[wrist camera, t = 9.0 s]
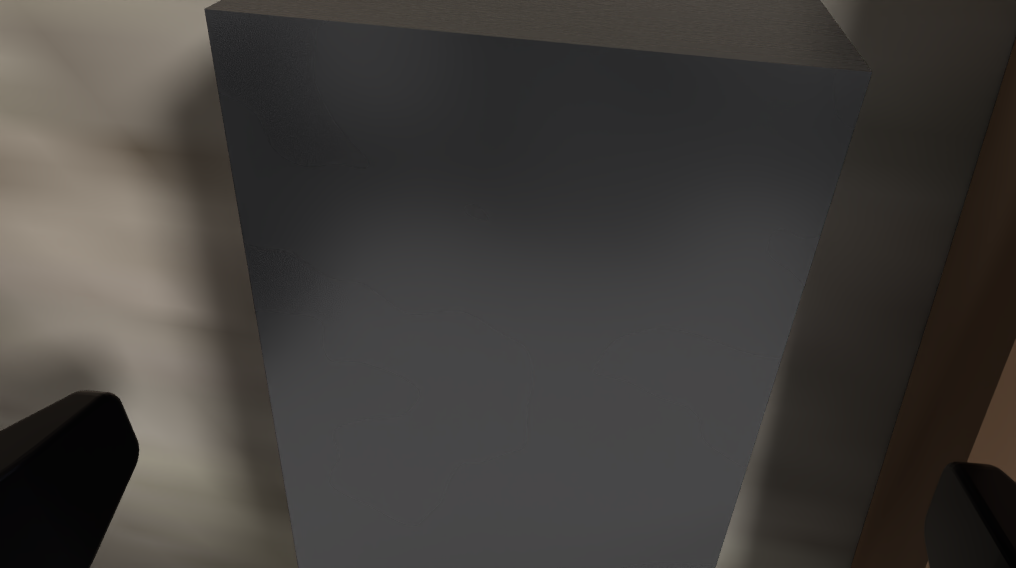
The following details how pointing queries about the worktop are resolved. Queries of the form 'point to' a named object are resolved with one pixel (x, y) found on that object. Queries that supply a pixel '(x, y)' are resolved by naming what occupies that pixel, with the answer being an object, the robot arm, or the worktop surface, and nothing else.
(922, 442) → the walnut box
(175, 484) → the worktop surface
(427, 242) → the dark gray box
